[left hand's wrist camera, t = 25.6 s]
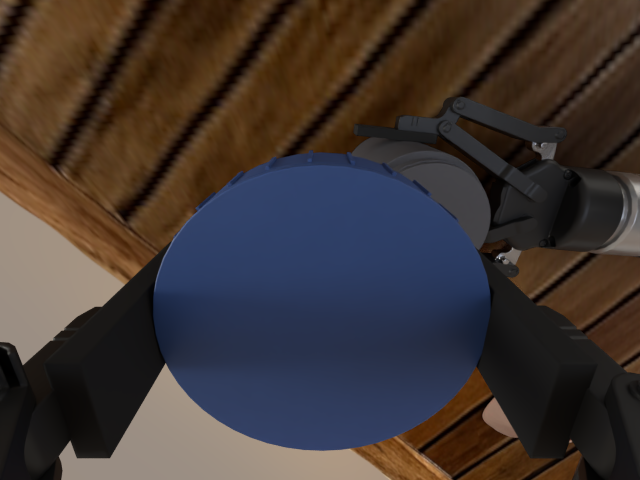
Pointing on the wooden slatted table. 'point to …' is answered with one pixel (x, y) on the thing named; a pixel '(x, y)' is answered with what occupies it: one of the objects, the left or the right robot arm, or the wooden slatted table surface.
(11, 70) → the wooden slatted table surface
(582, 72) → the wooden slatted table surface
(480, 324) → the lid
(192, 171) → the wooden slatted table surface
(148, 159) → the wooden slatted table surface
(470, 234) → the jar
